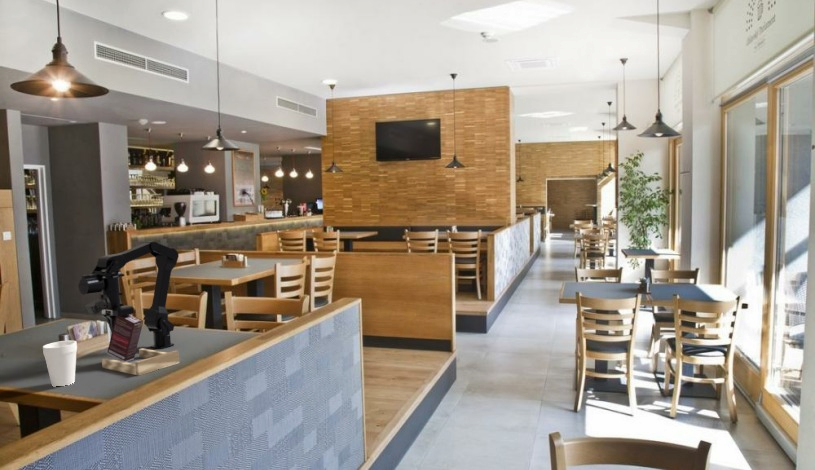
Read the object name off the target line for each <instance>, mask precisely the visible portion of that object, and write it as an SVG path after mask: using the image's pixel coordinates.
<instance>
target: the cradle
mask: <svg viewBox="0 0 815 470" xmlns="http://www.w3.org/2000/svg"><path fill="white" fill-rule="evenodd" d="M138 354H139V355H138V356H139V358H140V359H144V360H141V361H137V362H135V364H132V363H129V362H123V361H120V360H118V359H111V358H107V357H106V358H102V359H101V365H102V367H101V368H103V369H107V370H111V371H115V372H121V373H125V374H130V375H134V376H142V375H145V374H149V373H151V372H155V371H158V369H159V370H161V369H164V368H168V367H171V366H175V365H177V364H180V353H179V350H173V351H168V352H166V351H158V350H155V349H154V350H153V349H149V348H148V349H147V348H143V347H142V348H139V349H138Z"/></svg>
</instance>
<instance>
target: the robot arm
mask: <svg viewBox="0 0 815 470" xmlns="http://www.w3.org/2000/svg"><path fill="white" fill-rule="evenodd" d="M179 254H180V253H179V252H178V250H177V249H176V248H174V247H172V248H171V247H168V246H167V245H163V244H161V243H159V242H156V241H153V240H151V241H149V240H147V241H145V242H143V243H141V244H139V245H137V246H134V247H131V248H130V249H129V248H128V249H126V250H124V251H122V252H120V253H113V254H107V255H103V256H100V257H99V258H98V260H97V263H96V265H95V267H94V268H93V270H92V272H91V273H90V274H84V275H83V274H82V275H81V279H79V282H78V286H77V287H78V291H79V292H80V294H81V295H84V296H85V295H91V294H96V293H97V294H98V293H99V295H98V298H97V299H95V300H93V301H91V302H89V303H88V304H86V305H85V308H86V309H87V312H88V314H89V315H91V314H92V315H98V314H99V313H100V312H101V313H100V314H99V316H100V317H103V318H104V319H105V320H106V322H107V324H108V327H109V329H110V332H111V333H112V330H113V326H114V322H115V318H116V316H123V315H128V314H131V315H133V314H135V307H133V306H132V305H124V303H123V302H122V301H121V296H123V294H124V293H123V291H121V290H120V289H121V287H120V278H123V277H124V276H125V274H124V273H123V272H121V271H120V270H121V269H122V268H124V267H125V266H126V265H127V264H128V263H130V262H132V261H134V260H137V259H140V258H141V257H143V256H146V255H151V256H152V257H153V258H155V264H156V268H157V273H156V274H157V275H156V280H155V285H154V292H153V296H152V297H153V298H152V304H151V306H150V307H149V309H148V308H147V309H144V310H145V311H144V317H143V319H142V320H143V323H144V325H145V326H146V328H147V329H148V332H151V333H152V334H153V345H151V346H150V348H151V349H152V348H153V349H159V350H160V349H164V348H168V347H169V348H170V347H171V346H175V343H172V341H171V340H172V339H171V338H172V337H171V332H173V331H174V329H175V328H174V327H175V325H174V323H172V322H171V321H170V320H169V312H168V310H167V307H166V305H167V299H168V293H169V288H170V281H171V276H172V275H171V274H172V270H174V268H175V267H176V265H177V264H178V259H179Z"/></svg>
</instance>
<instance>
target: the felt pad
mask: <svg viewBox="0 0 815 470" xmlns="http://www.w3.org/2000/svg"><path fill="white" fill-rule="evenodd" d="M144 359H145V358H140V359H136V360H131V361H129V362H128V363H132V364H135V362H137V361H141V360H144Z"/></svg>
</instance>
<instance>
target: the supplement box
mask: <svg viewBox="0 0 815 470" xmlns="http://www.w3.org/2000/svg"><path fill="white" fill-rule="evenodd" d="M143 323H144V320H143V319H141V318H139V317H136V316H134V315H133V314H128V315H123V316H116V318H115V322H114V326H113V330H112V332H111V335H110V339H109V344H108V347H107V352H106V354H107V355H108V356H110V357H112V358H114V359H115V360H118V361H123V362H128V363H129V362H132V361H135V356H136V352H137V350H138V349H137V347H138V344H139V340H140V337H141V333H142V328H143V325H144V324H143Z"/></svg>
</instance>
